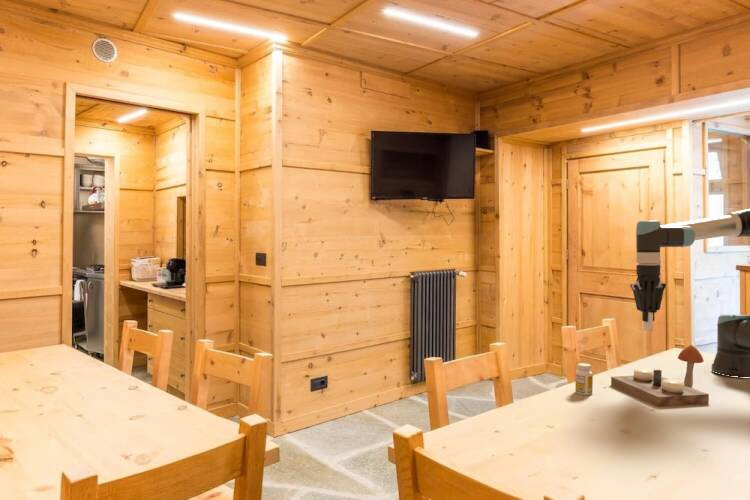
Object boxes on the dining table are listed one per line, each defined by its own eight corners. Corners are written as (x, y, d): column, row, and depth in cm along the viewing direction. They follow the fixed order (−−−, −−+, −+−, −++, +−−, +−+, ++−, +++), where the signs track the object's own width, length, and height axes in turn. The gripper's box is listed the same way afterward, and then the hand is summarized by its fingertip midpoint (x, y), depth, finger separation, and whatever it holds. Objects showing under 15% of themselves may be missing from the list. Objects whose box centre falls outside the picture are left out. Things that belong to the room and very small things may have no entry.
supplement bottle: (589, 390, 182) (590, 362, 182) (594, 395, 177) (595, 366, 177) (573, 390, 183) (573, 362, 182) (577, 395, 177) (578, 366, 177)
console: (655, 382, 193) (656, 374, 193) (708, 403, 169) (708, 394, 169) (611, 385, 189) (611, 376, 189) (658, 406, 166) (658, 397, 166)
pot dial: (657, 383, 181) (658, 368, 180) (662, 385, 178) (663, 370, 178) (651, 384, 180) (651, 368, 180) (656, 386, 178) (656, 370, 178)
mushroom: (708, 390, 183) (709, 347, 183) (684, 390, 183) (685, 347, 183) (694, 384, 191) (695, 342, 191) (672, 383, 191) (673, 342, 191)
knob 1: (644, 383, 190) (645, 368, 189) (656, 388, 184) (656, 372, 184) (629, 384, 188) (630, 369, 188) (641, 389, 183) (641, 373, 182)
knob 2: (673, 395, 176) (673, 379, 176) (687, 401, 170) (687, 384, 170) (657, 396, 175) (657, 380, 175) (670, 402, 169) (671, 385, 169)
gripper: (656, 263, 193) (656, 327, 193) (624, 264, 190) (625, 329, 191) (672, 264, 185) (672, 331, 186) (639, 265, 183) (639, 333, 184)
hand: (648, 330), depth 189 cm, fingers closed
